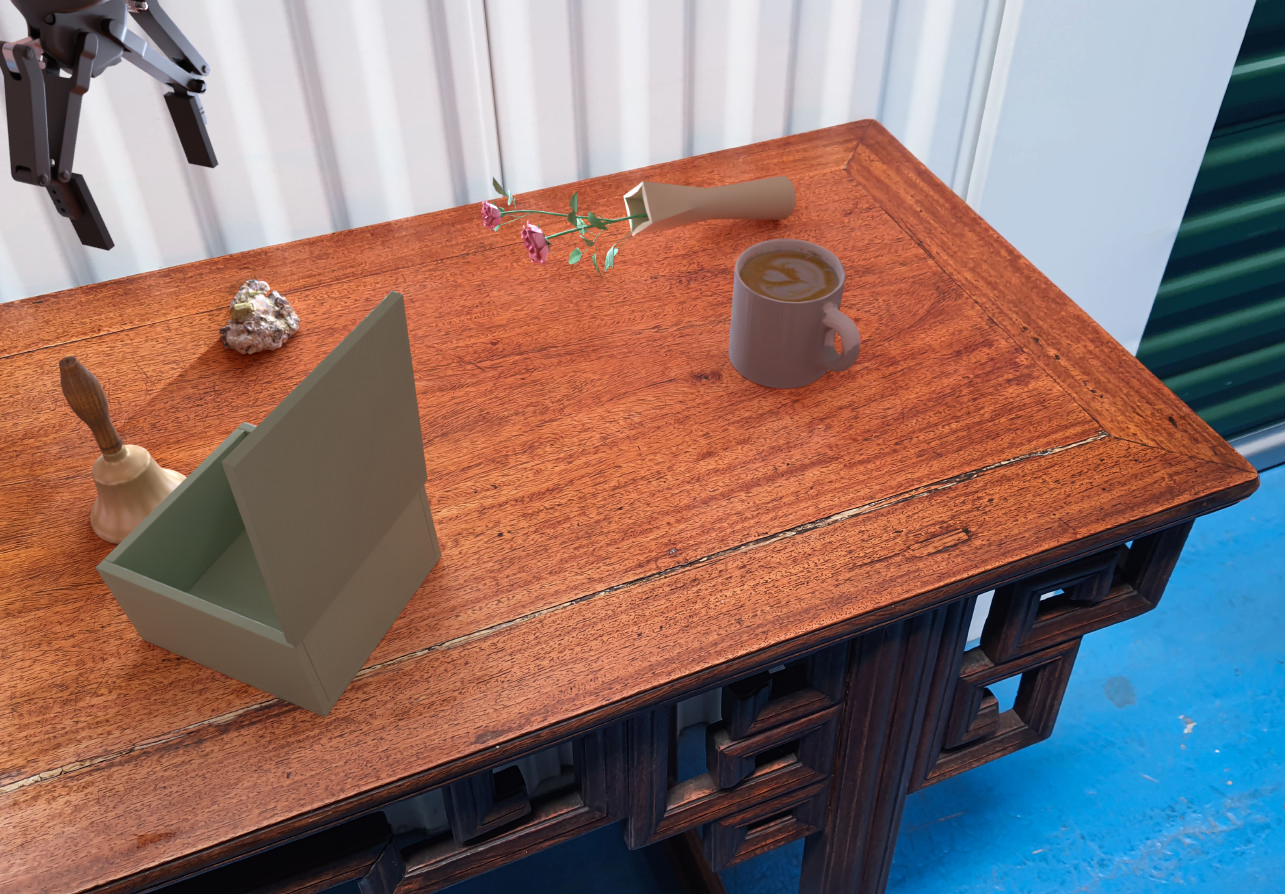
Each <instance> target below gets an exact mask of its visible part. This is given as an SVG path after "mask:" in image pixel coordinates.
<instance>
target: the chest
mask: <svg viewBox="0 0 1285 894" xmlns="http://www.w3.org/2000/svg"><path fill="white" fill-rule="evenodd" d="M257 426H258V425H255V424H251V423H248V422H245V421H243V422H241V423H240V424H239V425H238V426H237V428H235V429H234V430H233V431H232V432H231V433H230V434H229V435H228V436H227V437H226V438H225V439H224V440H223V441H222V442H221V443H220V444H219V445H218V446H217V447H216V448H215V449H214V450H213V451H212V452H211V453H210V454H209V455H207V457H206V458H205V459H204V460H202V462H201V463H200V464H199V465H197V467H195V468H194V469H193V470H192V472H191V473H190V474H188V475H187V476H186V477H187V478H186V479H185V480H184V481H183V482H182V483H181V484H180V485H179V486H178V487H177V488H176V489H175V490H174V491H173V492H171V493H170V494H169V495H168V496H167V497H166V498H165V499H164V500H163V501H162V502H161V503H160V504H159V505H158V506H157V507H156V508H155V509H154V510H153V511H152V512H151V513H150V514H149V515H148V516H147V517H146V518H145V519H144V520H143V521H142V522H141V523H140V524H139V525H138V526H137V527H136V528H135V529H134V530H133V531H132V532H131V533H130V534H129V535H128V536H127V537H126V538H125V539H124V540H123V541H122V542H121V543H120V544H117V546H115V547H114V549H113V550H112V551H110V553H108V554H107V555H106V556H105V557H104V558H103V560H101V561H100V562H99V563H98V564H97V565H96V566H95V570H96V572H97V573H98V574H99V576H100V578H101V579H102V581H103V582H104V584H105V585H106V587H107V588H108V589H109V591H110V592H111V594H112V596H113V597H114V599H115V600H116V602H117V604H118V605H119V607H120V608H121V609H122V611H123V612H124V614H125V616H126V617H127V618H128V620H129V622H130V624H131V625H132V626H133V628H134V629H135V631H136V632H137V634H138V635H139V636H140V638H141V640H142V641H145V642H148V643H150V644H152V645H155V646H157V647H160V648H161V649H164V650H166V651H168V652H171V653H173V654H176V655H178V656H180V657H183V658H185V659H187V660H189V661H192V662H194V663H197V664H198V665H201V666H204V667H206V668H208V669H211V670H213V671H215V672H217V673H219V674H223V675H225V676H227V677H229V678H232V679H233V680H237V681H239V682H241V683H244V684H245V685H248V686H251V687H253V688H255V689H258V690H259V691H262V692H265V693H266V694H269V695H271V696H274V697H276V698H278V699H281V700H283V701H285V702H288V703H291V704H293V705H295V706H297V707H300V708H302V709H305V710H306V711H309V712H311V713H313V714H316V715H318V716H321V717H322V718H327V717H328V715H329V714H330V712H331V711H332V710H333V709H334V707H335V706H336V704H337V703H338V701H339V700H340V699H341V697H342V696H343V695H344V693H345V691H347V689H348V687H349V686H350V685H351V683H352V682H353V680H354V679H355V678H356V676H357V675H358V674H359V672H360V671H361V669H362V668H363V666H364V665H365V664H366V662H367V661H368V659H369V658H370V657H371V656H372V654H373V653H374V651H375V650H376V648H378V646H379V645H380V643H381V642H382V640H383V639H384V637H385V636H386V634H387V633H388V632H389V630H390V629H391V627H392V626H393V625H394V623H396V621H397V619H398V618H399V617H400V615H401V613H402V612H403V611H404V610H405V608H406V607H407V605H408V604H409V602H410V601H411V600H412V598H413V597H414V596H415V594H416V593H417V591H418V590H419V589H420V587H421V586H422V584H423V583H424V582H425V580H426V579H427V577H428V576H429V575H430V573H431V572H432V571H433V569H434V567H436V565H437V563H438V562H439V561H440V560H441V558H442V551H441V547H440V543H439V538H438V535H437V530H436V527H435V522H434V517H433V513H432V509H431V505H430V502H429V497H428V494H427V489H426V486H425V484H424V485H423V486H422V488H421V489H420V490H419V492H418V493H417V494H416V495H415V497H414V498H413V499H412V501H411V502H410V503H409V504H408V506H407V507H406V508H405V509H404V511H403V512H402V513H401V515H400V516H399V517H398V518H397V520H396V521H395V522H394V523H393V525H392V526H391V527H390V529H389V530H388V531H387V532H386V534H385V535H384V536H383V538H382V539H381V540H380V541H379V543H378V544H377V545H376V546H375V548H374V549H373V550H372V552H371V553H370V554H369V555H368V557H367V558H366V559H365V561H364V562H363V563H362V564H361V566H360V567H359V568H358V569H357V571H356V572H355V573H354V575H353V576H352V577H351V578H350V580H349V581H348V582H347V583H346V585H345V586H344V587H343V589H342V590H341V591H340V592H339V594H338V595H337V596H336V598H335V599H334V600H333V601H332V603H331V604H330V605H329V606H328V608H327V609H326V610H325V612H324V613H323V614H322V615H321V617H320V618H319V619H318V621H317V622H316V623H315V624H314V626H313V627H312V628H311V629H310V631H309V632H308V633H307V635H306V636H305V637H304V638H303V640H302V641H301V642H300V643H299V645H298V646H297V647H296V646H294V645H292V644H289V643H287V642H286V639H285V636H284V633H283V630H282V628H281V625H280V622H279V619H278V617H277V614H276V611H275V608H274V606H273V603H272V600H271V597H270V595H269V592H268V589H267V586H266V584H265V581H264V578H263V575H262V572H261V570H260V567H259V564H258V561H257V559H256V556H255V553H254V550H253V548H252V545H251V542H250V539H249V537H248V534H247V531H246V528H245V526H244V523H243V520H242V517H241V514H240V512H239V509H238V506H237V503H236V501H235V498H234V495H233V492H232V490H231V487H230V484H229V481H228V479H227V476H226V473H225V470H224V468H223V465H222V461H223V460H224V459H225V458H226V457H227V456H228V455H229V454H230V453H231V452H232V451H233V450H234V449H235V448H236V447H237V446H238V445H239V444H240V443H241V442H242V441H243V440H244V439H245V438H246V437H247V436H248V435H249V434H250V433H251V432H252V431H253V430H254V429H255V428H256V427H257Z"/></svg>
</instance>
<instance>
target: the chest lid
mask: <svg viewBox="0 0 1285 894" xmlns="http://www.w3.org/2000/svg"><path fill="white" fill-rule="evenodd" d="M404 298H405V297H404V294H403V293H401V292H398V291H395V290H391V291H390V292H389V293H388V294H387V295H386V296H385V297H384V298H383V299H382V300H381V301H380V302H379V303H378V304H377V305H376V306H375V307H374V308H373V309H372V310H371V311H370V312H369V313H368V314H367V315H366V316H365V317H364V318H363V319H362V320H361V321H360V322H359V323H358V324H357V325H356V326H355V327H354V328H353V329H352V330H351V331H350V332H349V333H348V334H347V335H346V336H345V337H344V339H342V340H341V341H340V342H339V343H338V344H337V345H336V346H335V347H334V348H333V349H332V350H331V351H330V352H329V353H328V354H327V355H326V356H325V357H324V358H323V359H322V360H321V361H320V362H319V363H318V364H317V365H316V366H315V367H314V368H313V369H312V370H311V371H310V372H309V373H308V374H307V376H305V377H304V379H302V380H301V382H299V383H298V384H297V385H296V386H295V388H293V389H292V390H291V392H289V394H288V395H286V396H285V397H284V399H282V401H280V402H279V403H278V405H276V407H274V408H273V409H272V411H270V412H269V414H267V416H265V417H264V419H262V421H260V423H258V425H256V426H257V427H256V428H255V429H254V430H253V431H252V432H251V433H250V434H249V435H248V436H247V437H246V438H245V439H244V440H243V441H242V442H241V443H240V444H239V445H238V446H237V447H236V448H235V449H234V450H233V451H232V452H231V453H230V454H229V455H228V456H227V457H226V458H225V459H224V460H223V461H222V465H223V468H224V470H225V473H226V476H227V479H228V481H229V484H230V487H231V490H232V492H233V495H234V498H235V501H236V503H237V506H238V509H239V512H240V514H241V517H242V520H243V523H244V526H245V528H246V531H247V534H248V537H249V539H250V542H251V545H252V548H253V550H254V553H255V556H256V559H257V561H258V564H259V567H260V570H261V572H262V575H263V578H264V581H265V584H266V586H267V589H268V592H269V595H270V597H271V600H272V603H273V606H274V608H275V611H276V614H277V617H278V619H279V622H280V625H281V628H282V630H283V633H284V636H285V639H286V642H287V643H289V644H292V645H294V646H296V647H297V646H298V645H299V643H300V642H301V641H302V640H303V638H304V637H305V636H306V635H307V633H308V632H309V631H310V629H311V628H312V627H313V626H314V624H315V623H316V622H317V621H318V619H319V618H320V617H321V615H322V614H323V613H324V612H325V610H326V609H327V608H328V606H329V605H330V604H331V603H332V601H333V600H334V599H335V598H336V596H337V595H338V594H339V592H340V591H341V590H342V589H343V587H344V586H345V585H346V583H347V582H348V581H349V580H350V578H351V577H352V576H353V575H354V573H355V572H356V571H357V569H358V568H359V567H360V566H361V564H362V563H363V562H364V561H365V559H366V558H367V557H368V555H369V554H370V553H371V552H372V550H373V549H374V548H375V546H376V545H377V544H378V543H379V541H380V540H381V539H382V538H383V536H384V535H385V534H386V532H387V531H388V530H389V529H390V527H391V526H392V525H393V523H394V522H395V521H396V520H397V518H398V517H399V516H400V515H401V513H402V512H403V511H404V509H405V508H406V507H407V506H408V504H409V503H410V502H411V501H412V499H413V498H414V497H415V495H416V494H417V493H418V492H419V490H420V489H421V488H422V486H423V485H425V484H426V483H427V481H428V472H427V471H428V470H427V463H426V457H425V450H424V449H425V448H424V443H423V442H424V441H423V435H422V426H421V419H420V412H419V411H420V410H419V404H418V403H419V402H418V397H417V390H416V389H417V388H416V380H415V374H414V373H415V372H414V367H413V358H412V353H411V343H410V336H409V329H408V321H407V314H406V306H405V299H404Z"/></svg>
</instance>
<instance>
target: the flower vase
mask: <svg viewBox="0 0 1285 894" xmlns="http://www.w3.org/2000/svg"><path fill="white" fill-rule="evenodd" d="M492 185H493V188H494V190H495V192H496V193H497V194H498V195H503V196H505V197H507V203H506V204H507V206H511V203H513V205H514V210H508V211H506V210H505V208H504V207H500V206H497V204H496V201H493V204H492V203H489V201H488V200H486V199H484V200H483V201H482V204H481V205H482V208H481V212H480V213H481V215H482V216H481V219H482V221H483V222H482V224H483V227H486V228H487V229H488V230H489V231H491V232H498V231H499V229H500V227H501V226H503V225H506V224H509V223H511V222H514V221H517V220H519V219H521V218H524V217H526V216H529V215H531V214H543V215H548V216H549V215H550V216H555V217H556V216H557V217H563V218H567V223H569V224H571V225H572V226H574V227H575V228H571V229H568V230H564V231H562V232H558V233H555V234H552V235H548V236H546V235H545V233H544V232H543V231H542V229H541V228H540V224H539V222H537V226H536V225H533V224H531V223H530V221H529V219H527V220H526V226H525V225H524V224H522V227H523V230H521V231H520V233H519V234H520V235H521V240H522V241H523V246H524V249H525V250H526V251H528V258H529V259H530V260H531V263H534V264H537V265H538V266H540V267H541V266H542V267H544V268H546V267H547V265H545V264H546V261H547V258H548V255H549V253H550V254H552V255H553V256H555V254H554V253H553V252H552V251H551V249H550V246H551V245H552V243H553V242H550V241H549V240H551V239H555V238H558V237H561V236H565V235H569V234H571V233H576V232H579V233H580V234H579V237H580V238H581V239H582V240H583V241H584V243H585V245H586V246H587V249H585V251H583V252H582V251H581V250H580V248H579V247H576V248H574V249H573V250H572V251H571V252H570V254H569V258H568V261H567V263H568V264H570V265H575V264H576V263H579V262H580V261H581V259H582V256H583V254H584V253H586V252H587V251H589V249H590V247H591V248H593V246H594V245H595V246H597V243H596V242H597V238H598V237H599V236H600V235H601V234H602V233H603V232H604V231H609V228H608V227H609V226H611V225H612V224H615V223H620V222H624V221H628V222H629V228H630V232H629V233H628V234H627V235H626V236H624V237H623V238H622V239H621V240H618V242H616V243H615V244H613V245H612V247H611V248H609V250H608V251H607V252H606V256H605V260H604V273H607V272H608V269H609V268H610V267H611V268H612V269H613V270H614V268H615V257H616V256H617V254H618V253H619V248H620V247H623V246H624V245H626V243H627V242H628V241H629V237H630V235H632V237H637V236H643V235H646V234H647V235H648V234H652V233H655V232H661V231H664V230H669V229H670V230H671V229H674V228H678V227H679V228H680V227H684V226H689V225H692V224H698V223H702V222H707V221H712V220H714V221H715V220H736V221H737V220H741V221H742V220H743V221H745V220H746V221H748V220H750V221H752V220H757V221H758V220H760V221H761V220H763V221H765V220H769V221H770V220H773V221H775V220H776V221H779V220H783V221H784V220H785V221H786V220H787V219H789V218H790V217H791V216H792V215H793V213H794V210H795V207H796V203H797V202H796V201H797V199H796V197H797V193H796V189H795V187H794V183H793V181H792V180H791V179H789V178H788V177H787V176H786V175H777V176H771V177H767V178H760V179H755V180H749V181H743V182H737V183H732V184H726V185H718V186H711V187H703V186H701V187H700V186H693V185H692V186H691V185H683V184H682V185H681V184H672V183H665V182H663V183H662V182H653V181H646V180H645V181H644V180H642V181H641V182H640V183H639V184H637V185H636V186H635V187H633V188H632V189H631V190H630V191H628V192H626V193H625V194H624V195H623V201H624V205H625V210H626V214H627V216H625V217H624V216H623V217H620V218H615V219H614V218H613V219H612V218H604V217H603V216H602V215H599V214H597V213H593V212H592V211H588V213H587V216H583V215H579V209H578V206H579V199H578V192H577V191H575V193H574V194H572V196H571V198H570V201H569V207H570V208H571V210H570V211H569V213H568V214H564V213H557V212H550V211H543V210H535V209H534V210H532V209H524V210H523V209H519V210H517V206H516V204H515V203H516V198H514V196H513V195H512V192H511V190H507V193H506V192H505V191H504V188H502V186H501V185H500V184H499V182H498V181H497V179H496V178H495V177H494V176H492ZM520 213H522V214H523V213H526V214H524V215H522V216H518V215H512V214H520ZM505 216H508V217H512V218H513V217H515V219H513V220H510V221H508V222H505V223H502V220H503V218H504V217H505ZM597 216H598V217H597ZM583 220H587V222H588V223H589V224H586V223H585V222H584V221H583ZM606 225H607V226H606ZM528 228H529V229H528ZM593 228H596V229H597V230H601V231H600V232H599V233H598V234H595V233H593V232H592V231H591V230H588V229H593ZM586 232H589V233H591V234H592V235H593V236H596V237H595V238H594V239H593V241H592V240H590V239H589V238H586V237H585V235H586ZM626 238H627V239H626ZM625 239H626V241H625V242H624V243H623V244H621V245H620V246H619V247H616V246H617V245H618V244H619V243H620V242H622V241H623V240H625ZM615 247H616V248H615ZM597 250H598V249H597V247H595V252H594V254H593V255H591V262H592V264H593V267H594V269H595V270H596V272H597V274H598V275H599V277H600V278H601V279H603V276H602V273H601V271H600V269H599V265H598V262H597V261H598V260H597V253H598V252H597Z"/></svg>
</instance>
